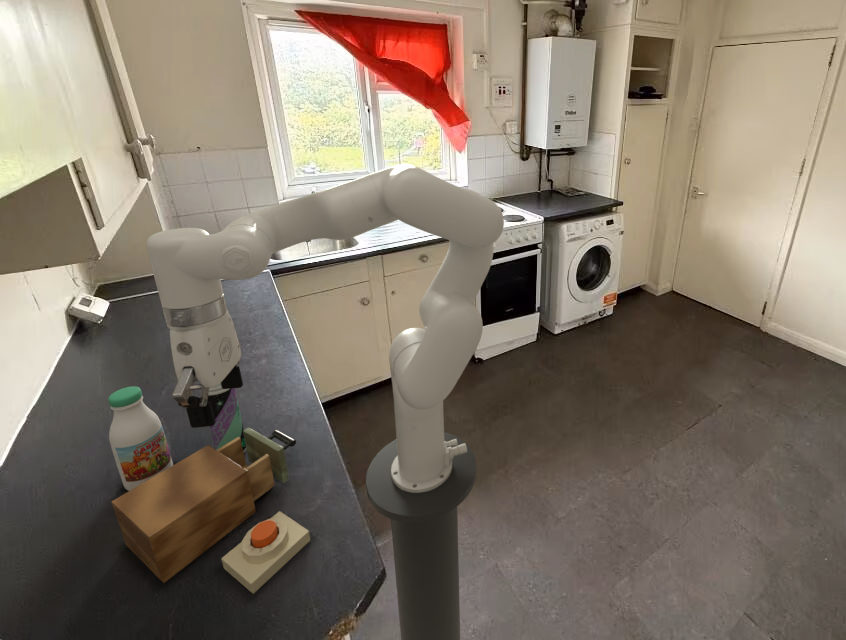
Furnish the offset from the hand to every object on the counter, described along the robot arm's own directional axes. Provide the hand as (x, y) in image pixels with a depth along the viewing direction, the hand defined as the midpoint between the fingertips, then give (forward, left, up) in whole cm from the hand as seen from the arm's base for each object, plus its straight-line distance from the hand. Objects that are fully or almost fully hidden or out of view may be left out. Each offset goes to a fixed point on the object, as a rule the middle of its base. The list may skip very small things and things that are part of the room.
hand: (219, 405), depth 69 cm
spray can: (+4, -20, -25) cm, 32 cm away
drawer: (0, -8, -24) cm, 25 cm away
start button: (-4, +9, -21) cm, 23 cm away
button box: (-4, +9, -25) cm, 27 cm away
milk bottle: (+18, -19, -25) cm, 36 cm away
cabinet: (+8, -2, -25) cm, 26 cm away
